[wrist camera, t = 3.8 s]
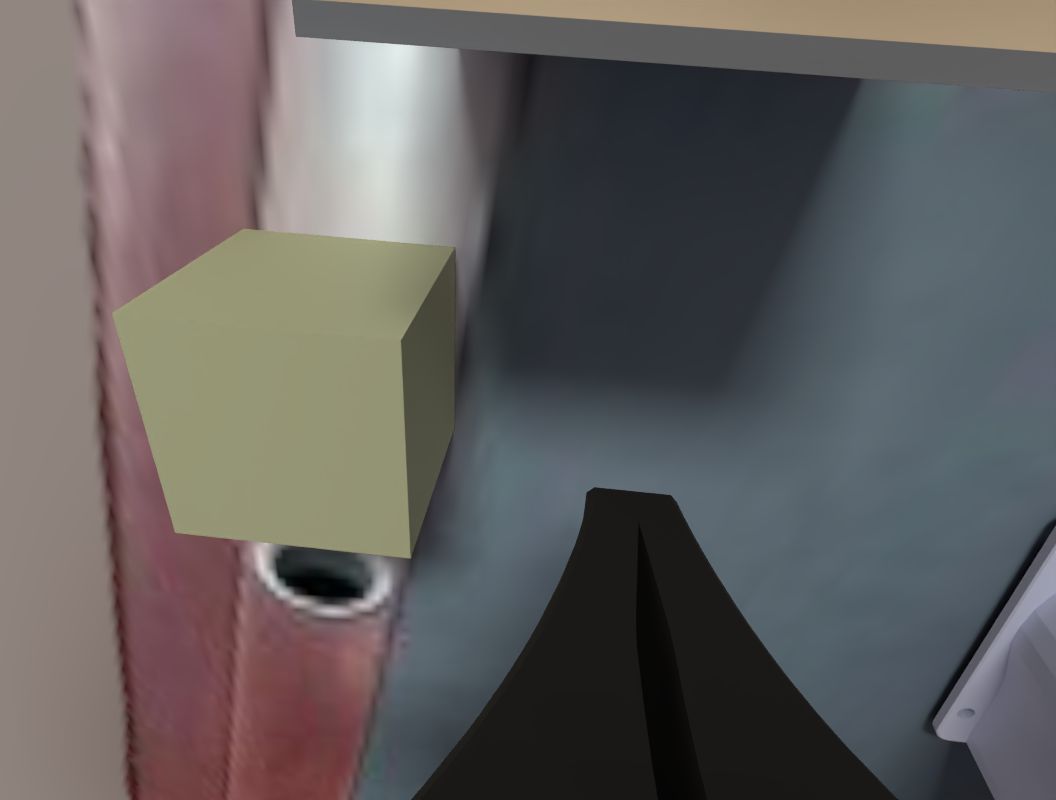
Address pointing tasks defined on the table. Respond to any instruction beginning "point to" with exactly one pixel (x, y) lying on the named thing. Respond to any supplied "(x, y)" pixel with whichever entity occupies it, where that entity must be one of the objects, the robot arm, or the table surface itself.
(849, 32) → the beech slab
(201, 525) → the olive cube
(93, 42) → the table surface
